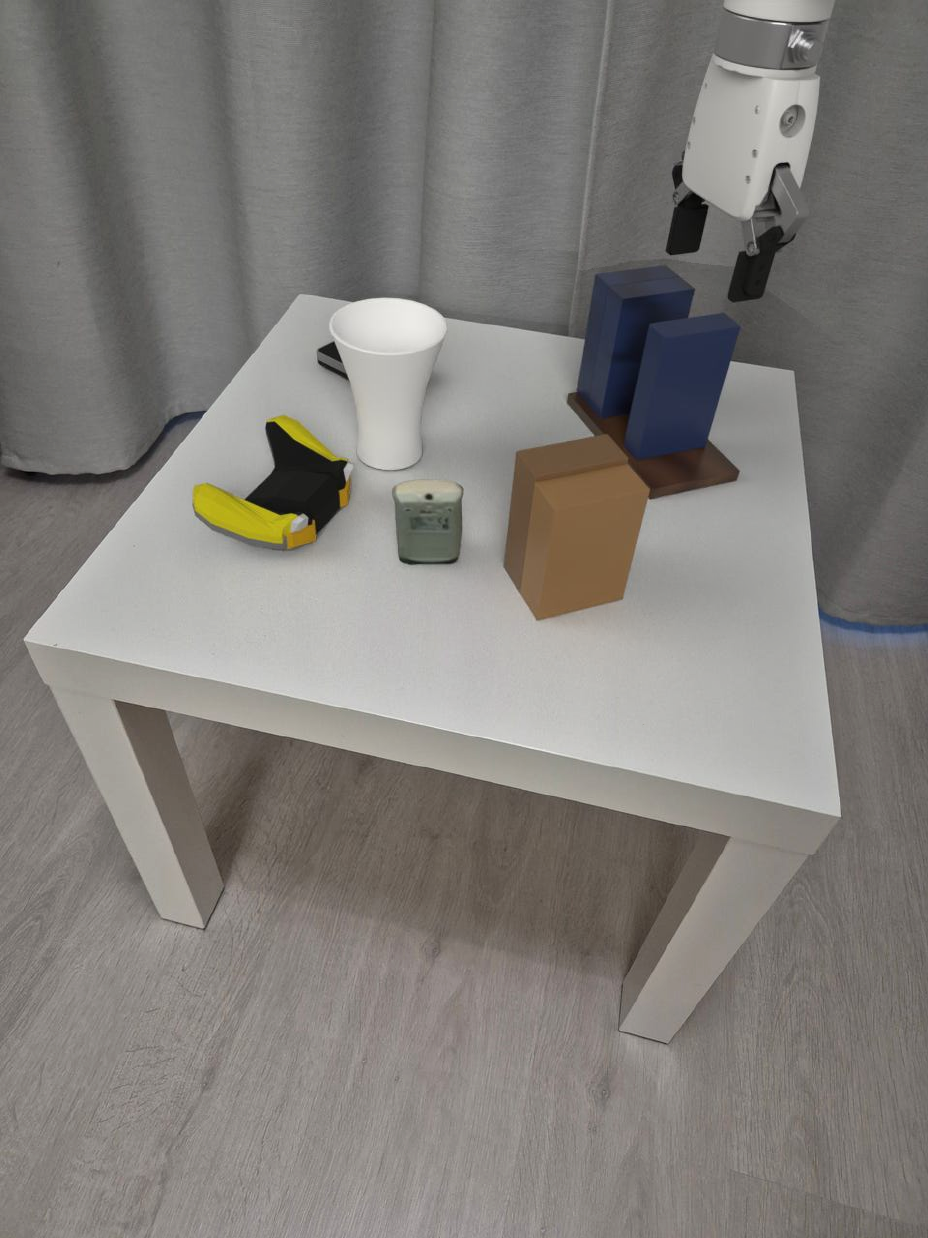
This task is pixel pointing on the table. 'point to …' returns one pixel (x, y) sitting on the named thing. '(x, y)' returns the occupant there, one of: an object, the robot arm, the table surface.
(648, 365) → the navy book
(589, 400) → the blue bookends on base
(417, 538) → the grey-green rounded box
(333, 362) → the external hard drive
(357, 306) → the cup
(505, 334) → the table surface
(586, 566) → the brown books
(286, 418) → the gaming controller
